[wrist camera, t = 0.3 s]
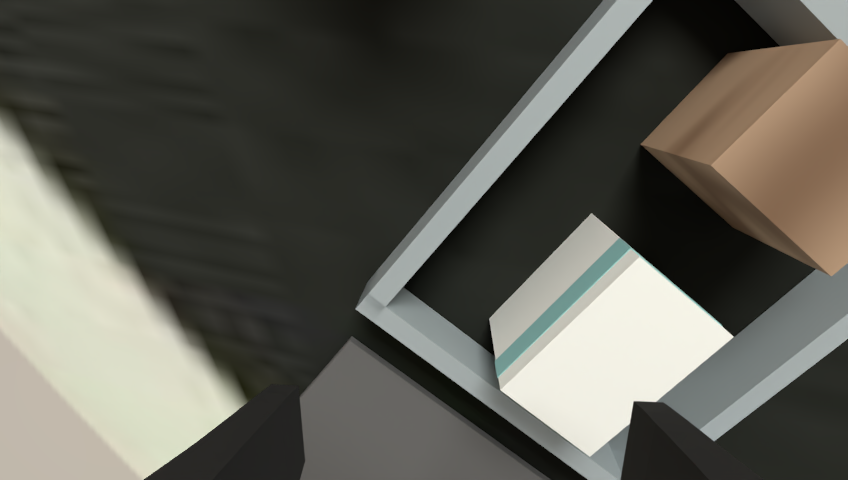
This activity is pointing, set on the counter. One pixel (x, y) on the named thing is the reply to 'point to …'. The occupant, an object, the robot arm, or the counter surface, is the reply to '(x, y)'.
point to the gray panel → (392, 428)
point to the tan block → (769, 147)
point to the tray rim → (715, 378)
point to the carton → (597, 337)
